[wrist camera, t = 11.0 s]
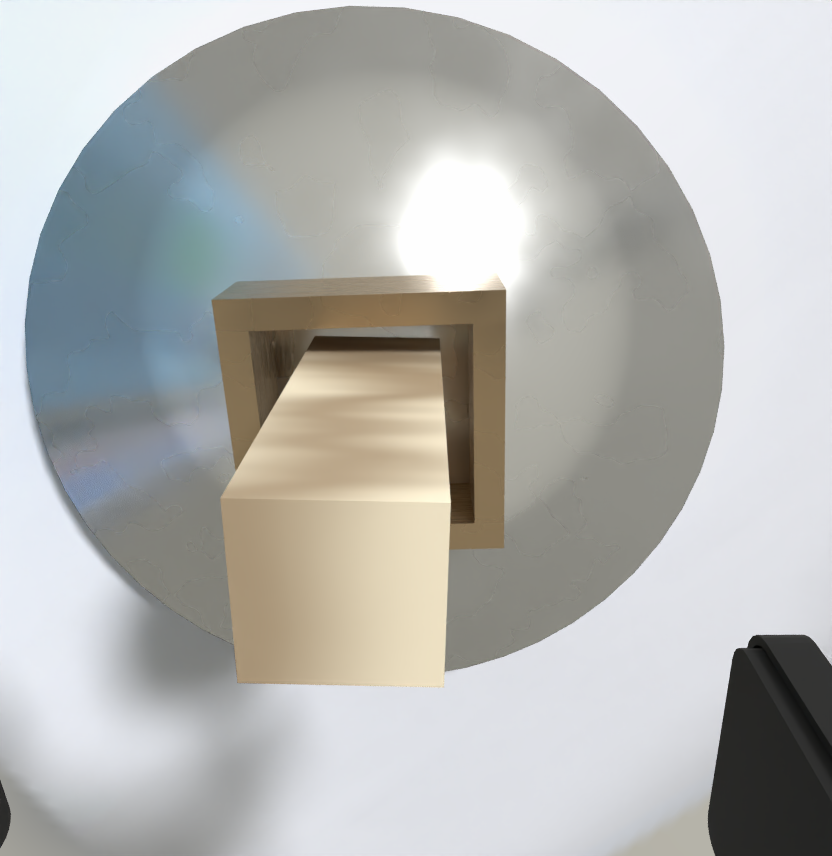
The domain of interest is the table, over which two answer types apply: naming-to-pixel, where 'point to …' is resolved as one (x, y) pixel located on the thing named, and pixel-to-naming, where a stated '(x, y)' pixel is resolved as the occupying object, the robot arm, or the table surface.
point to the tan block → (344, 522)
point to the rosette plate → (380, 303)
